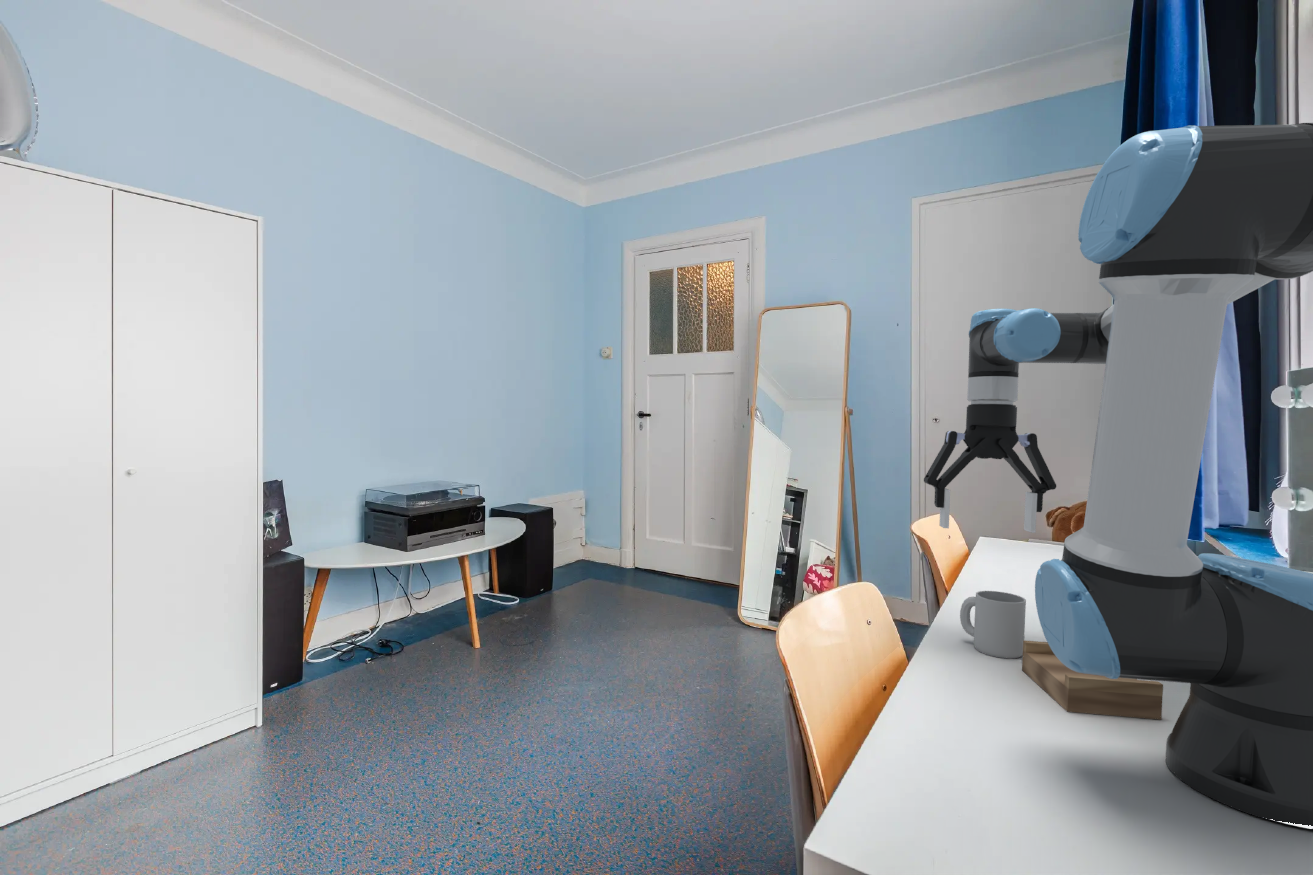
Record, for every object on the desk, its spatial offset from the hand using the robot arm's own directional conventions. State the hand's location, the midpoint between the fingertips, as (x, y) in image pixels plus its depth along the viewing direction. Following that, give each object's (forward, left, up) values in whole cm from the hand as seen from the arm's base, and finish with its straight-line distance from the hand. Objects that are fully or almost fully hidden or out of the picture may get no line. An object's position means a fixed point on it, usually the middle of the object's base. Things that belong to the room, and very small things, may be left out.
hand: (986, 529), depth 108 cm
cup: (-3, 0, -19) cm, 20 cm away
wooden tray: (-19, -7, -19) cm, 28 cm away
